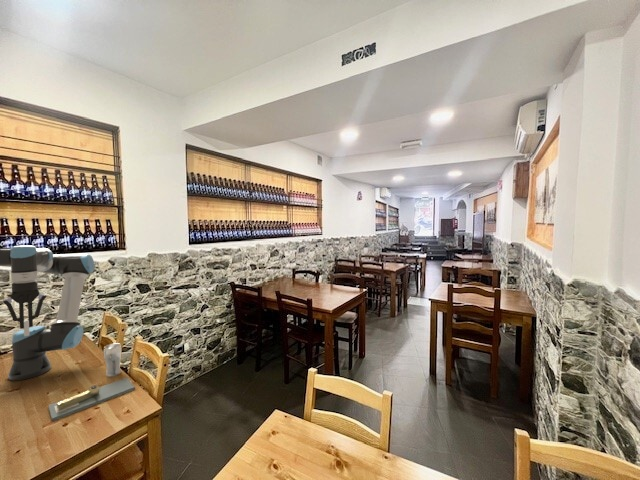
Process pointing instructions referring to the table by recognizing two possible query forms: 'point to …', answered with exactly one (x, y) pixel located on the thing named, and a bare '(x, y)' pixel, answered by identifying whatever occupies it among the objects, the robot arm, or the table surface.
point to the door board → (93, 398)
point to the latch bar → (78, 397)
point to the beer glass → (113, 359)
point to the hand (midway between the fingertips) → (26, 335)
